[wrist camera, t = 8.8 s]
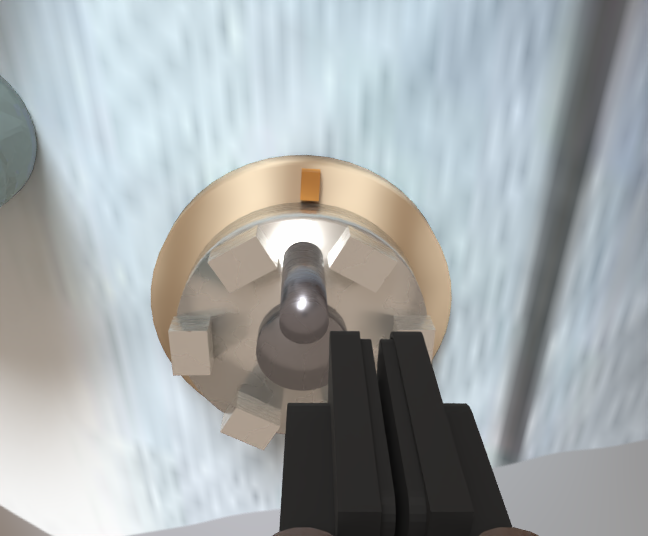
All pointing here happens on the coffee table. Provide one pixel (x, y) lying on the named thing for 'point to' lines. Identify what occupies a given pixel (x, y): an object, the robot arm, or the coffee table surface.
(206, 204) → the round tan disc base
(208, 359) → the disc with radial blocks
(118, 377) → the coffee table surface
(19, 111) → the grey-green cup
